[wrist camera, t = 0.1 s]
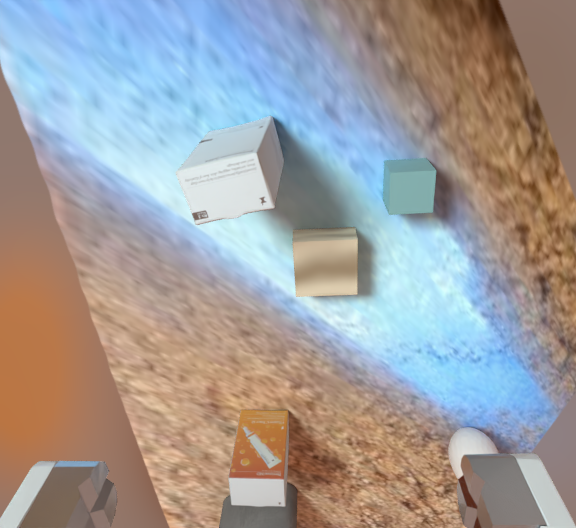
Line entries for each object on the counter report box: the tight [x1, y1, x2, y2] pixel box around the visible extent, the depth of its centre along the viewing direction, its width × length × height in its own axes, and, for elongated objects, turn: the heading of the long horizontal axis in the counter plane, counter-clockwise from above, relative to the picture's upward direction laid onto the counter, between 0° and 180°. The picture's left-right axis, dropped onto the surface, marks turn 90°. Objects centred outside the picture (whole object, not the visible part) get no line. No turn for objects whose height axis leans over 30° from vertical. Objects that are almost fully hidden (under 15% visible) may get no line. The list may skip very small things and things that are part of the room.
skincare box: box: [176, 116, 284, 225], centre depth 49 cm, size 8×6×15 cm
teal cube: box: [383, 158, 436, 215], centre depth 54 cm, size 5×5×5 cm
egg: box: [449, 427, 499, 479], centre depth 71 cm, size 7×7×12 cm
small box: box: [229, 410, 289, 507], centre depth 71 cm, size 8×6×13 cm
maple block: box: [293, 227, 358, 297], centre depth 60 cm, size 8×8×4 cm
